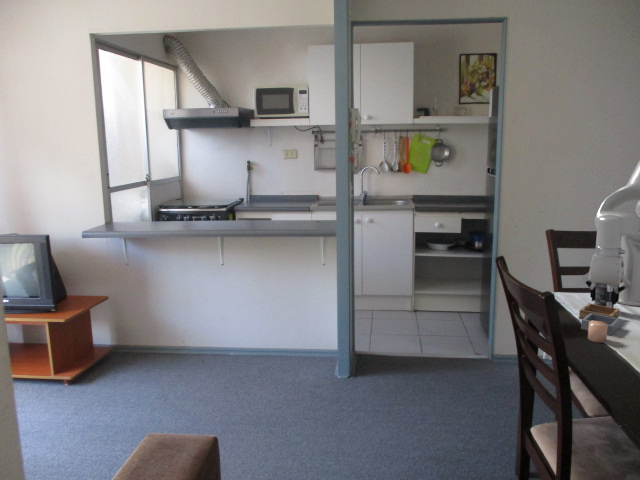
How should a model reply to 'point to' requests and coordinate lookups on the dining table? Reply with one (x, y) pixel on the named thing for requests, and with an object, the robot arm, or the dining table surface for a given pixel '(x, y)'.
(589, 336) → the peach rounded capsule
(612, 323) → the gray square open tray
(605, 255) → the robot arm
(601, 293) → the pill bottle
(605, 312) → the brown wooden open tray
